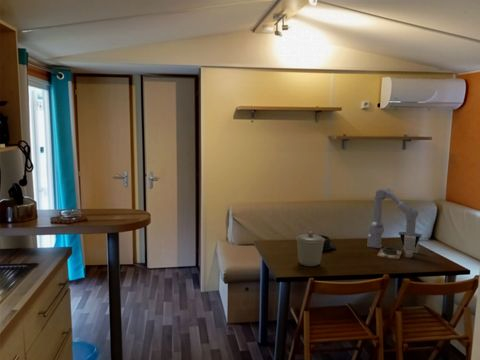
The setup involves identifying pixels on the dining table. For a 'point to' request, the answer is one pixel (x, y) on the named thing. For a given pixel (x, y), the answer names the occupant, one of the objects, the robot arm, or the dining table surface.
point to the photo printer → (410, 243)
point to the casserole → (327, 243)
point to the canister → (309, 249)
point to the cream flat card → (389, 253)
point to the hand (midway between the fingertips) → (409, 246)
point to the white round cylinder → (408, 252)
